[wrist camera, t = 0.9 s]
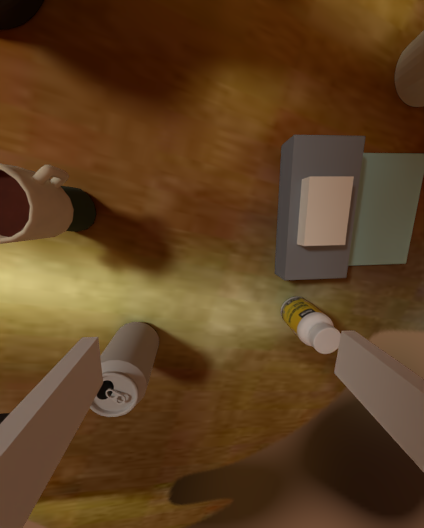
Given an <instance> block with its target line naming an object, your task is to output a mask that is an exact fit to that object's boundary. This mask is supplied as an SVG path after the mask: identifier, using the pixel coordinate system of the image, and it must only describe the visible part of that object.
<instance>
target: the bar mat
mask: <svg viewBox="0 0 424 528" xmlns="http://www.w3.org/2000/svg"><path fill="white" fill-rule="evenodd" d="M423 175H424V154H419V153H363V158H362V166H361V173H360V180H359V188H358V195H357V203H356V210H355V217H354V225H353V232H352V240H351V247H350V254H349V262H348V266H352V265H380V264H406V260H407V255H408V250H409V245H410V240H411V235H412V230H413V225H414V220H415V215H416V210H417V205H418V200H419V195H420V190H421V185H422V180H423Z"/></svg>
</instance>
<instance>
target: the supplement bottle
mask: <svg viewBox="0 0 424 528" xmlns="http://www.w3.org/2000/svg"><path fill="white" fill-rule="evenodd" d="M281 316H282V318H283V320H284V321H285V322H286V323H287V325H288V326H289V327H290V328H291V329H292V331H293V332H294V333H295V334H296V335H297V336H298V338H299V339H300V340H301V341H302V342H303V343H305V344H306V345H309V346H313V347H314V348H315V350H317V351H318V352H319V353H322V354H329V353H332V352H334V351H335V350H336V349H338V347H339V343H340V337H341V334H340V332H339V331H338V330H337V329H336V328H335V327H334V325H333V322H332V321H331V319H330V318H329V317H328V316H327V315H325V314H324V313H323V312H321V311H320V310H319V309H318V308H316V307H315V306H314V305H312V304H311V303H309V302H308V301H307V300H305V299H304V298H301V297H292V298H289V299H288V300H286V301H285V302H284V304H283V305H282V308H281Z"/></svg>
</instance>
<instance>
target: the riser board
mask: <svg viewBox="0 0 424 528" xmlns="http://www.w3.org/2000/svg"><path fill="white" fill-rule="evenodd" d="M364 143H365V136H333V135H294V136H292V137H291V138H290V139H289V140H288V141H286V142H285V143H284V144H283V145H282V148H281V166H280V185H279V203H278V222H277V240H276V259H275V274H276V275H278V276H279V277H281V278H282V279H284V280H304V279H328V278H346V277H347V269H348V262H349V254H350V247H351V240H352V232H353V225H354V217H355V210H356V203H357V195H358V188H359V180H360V173H361V166H362V158H363V151H364ZM310 176H354V179H353V187H352V194H351V202H350V210H349V218H348V225H347V233H346V241H345V245H324V246H302V245H298V244H297V236H298V223H299V210H300V197H301V184H302V179H304V178H307V177H310Z"/></svg>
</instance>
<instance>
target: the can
mask: <svg viewBox="0 0 424 528" xmlns="http://www.w3.org/2000/svg"><path fill="white" fill-rule="evenodd" d="M158 347H159V337H158V335H157V332H156V331H155V330H154V329H153V328H152V327H151V326H149V325H147V324H145V323H141V322H131V323H128V324H125V325H124V326H122V327H121V328H120V329H119V330H118V331H117V333H116V334H115V336H114V337H113V339H112V340H111V341H110V343H109V344H108V346H107V347H106V349H105V350H104V352H103V353H102V355H101V356H100V359H101V368H102V377H103V384H102V386H101V388H100V390H99V392H98V393H97V395H96V397H95V399H94V401H93V402H92V404H91V406H90V408H91V409H92V410H93V411H94V412H95V413H98V414H100V415H102V416H107V417H117V416H121V415H124V414H126V413H128V412H129V411H131V410H132V409H133V408H134V407H135V405H136V404H137V403H139V402H140V400H141V399H142V398H143V397H144V395H145V392H146V389H147V385H148V382H149V378H150V375H151V371H152V368H153V364H154V361H155V357H156V354H157V350H158Z"/></svg>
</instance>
